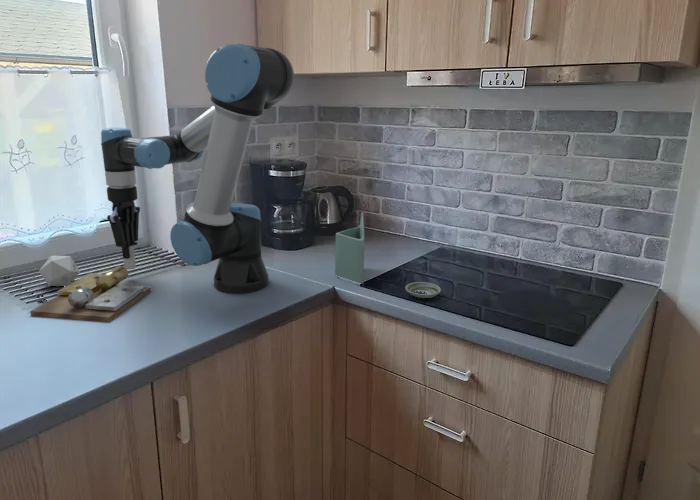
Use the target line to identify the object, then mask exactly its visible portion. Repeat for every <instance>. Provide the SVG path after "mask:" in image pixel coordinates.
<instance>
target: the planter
mask: <svg viewBox="0 0 700 500" xmlns="http://www.w3.org/2000/svg"><path fill="white" fill-rule="evenodd" d="M364 220H365V219H364V212H361V214H360V221H359V225H358V226H357V227H352V228H348V229H345V230H342V231H339V232H336V233H335V252H334V253H335V255H334V257H335V258H334V259H335V261H334V262H335V263H334V265H335V267H334V268H335V269H334V276H335V275H337V276H340V277H343V278H346V279H349V280H352V281H355V282H358V283H361V284H363V285H364V268H365V221H364Z"/></svg>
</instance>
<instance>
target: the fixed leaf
mask: <svg viewBox="0 0 700 500" xmlns="http://www.w3.org/2000/svg"><path fill="white" fill-rule="evenodd" d="M144 287H145V286H143V285H127V284H117V285H116V286H114V287H113V288H111V289H109V290H108V291H106V292H105V293H103V294H102V295H100V296H98V297H97V298H95V299H94V300H92V299H93V292H92V290H91V289H90V288H88V287H81V288H79V289H78V290H76V291H74V292H72V293H71V294H69V296H68V301H69V303H70V305H71V306H73V307H75V308H80V307H82V306H83V305H85V304H86V303H87V304H86V305H85V307H86V309H97V310H109V311H116V310H117V309H119V308H120V307H122V306H123V305H124V304H126V303H127V302H129V301H130V300H131V299H133V298H134V297H136V296H137V295H138V294H140V293H141V292H143V291H144ZM91 300H92V301H91ZM88 302H89V303H88Z"/></svg>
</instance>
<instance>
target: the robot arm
mask: <svg viewBox="0 0 700 500" xmlns="http://www.w3.org/2000/svg"><path fill="white" fill-rule="evenodd" d="M204 69H205V70H204V80H205V83H206V84H207V85H206V87H207V90H208V92H209V93H210V94H211V95H210V99H209V101H210V103H211V104H212V106H210V107H209V108H208V109H207V110H206V111H204V112H203V113H202V114H201V115H199V116H198V117H197V118H195V119H194V120H193V121H191V122H190V123H189V124H188V125H186V126H185V127H184V128H183V129H181V130H180V131H179V132H177V133H176V134H173V135H172V134H171V135H163V136H151V137H150V136H149V137H135V136H133V134H132V131H131V129H130V128H128V127H104V128H103V129H101V130H100V141H101V143H100V145H101V150H102V152H101V153H102V159H103V167H104V168H103V169H104V176H105V183H106V185H107V186H108V187H107V188H106V192H107V193H106V196H107V200H108V202H111V203H112V207H111V211H112V213H111V214H108V215H107V217H106V218H107V220H108V222H109V224H110V227H111V232H112V237H113V239H114V243H115V246H116V247H117V248H121V253H122V261H123V267H125V268H126V269H127V270H134V269H135V268H136V267H137V266H136V264H137V263H136V255H135V247H134V246H138V244H139V243H138V240H139V226H140V223H139V220H140V211H141V207H140V206H136V204H135V201H136V200H138V189H137V186H135V185H136V184H137V178H136V177H137V176H136V167H138V168H147V169H151V170H152V169H162V168H164V167H165V166H166V165H172V164H173V165H174V164H179V163H180V164H181V163H191V162H193V161H197V160H199V159H200V158H201V157H202V156H203V153H204V150H205V149H206V151H205V154H204V158H203V161H202V162H203V163H202V167H201V172H200V176H199V180H198V185H197V190H196V193H195V197H194V201H193V202H191V203H189V204H188V205H187V206H186V208H185V212H184V217H183V220H179V221H177V222H176V223H175V224H174V225H173V226H172V227H171V230H170V233H169V234H170V243H171V247H172V249H173V250H174V252H175V254H176V255H177V257H178V258H179V260H182V262H184V263H185V264H187V265H189V266H194V267H198V266H202V265H207V264H209V263H211V262H214V261H216V260H218V262H217V265H216V269H215V271H214V276H213V286H214V288H215V289H216V290H218V291H220V292H223V293H229V294H247V293H253V292H256V291H260V290H263V289H264V288H266V287H267V286H268V285H269V274H268V271H267V268H266V266H265V263H264V260H263V256H262V224H261V223H262V219H261V210H260V208H259V207H258V206H256V205H254V204H249V203H241V202H233V200H234V199H233V198H234V194H235V193H236V191H235V190H236V187H237V183H238V179H239V176H240V173H241V168H242V165H243V161H244V156H245V154H246V149H247V147H248V141H249V139H250V134H251V130H252V126H253V123H254V121H255V120H256V119H259V118H260V117H261V116H262V115H263V111H267V110H269V109H270V108H272V107H273V106H275V105H277V104H279V102H281V101H282V100H283V99H285V98H286V97H287V96H288V95H289V94H290V91H291V90H292V88H293V86H294V80H295V72H294V68H293V64H292V63H291V61H290V60H289V58H287V56H286V55H285V54H284V53H283V52H282V51H279V50H277V49H274V48H271V47H261V46H253V45H247V44H244V43H236V44H234V43H233V44H232V43H231V44H225V45H221V46H220V47H219V48H217V49H216V50H214V51H213V52H212V53H211V55H210V56H209V58H208V60H207V62H206V65H205V68H204Z"/></svg>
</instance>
